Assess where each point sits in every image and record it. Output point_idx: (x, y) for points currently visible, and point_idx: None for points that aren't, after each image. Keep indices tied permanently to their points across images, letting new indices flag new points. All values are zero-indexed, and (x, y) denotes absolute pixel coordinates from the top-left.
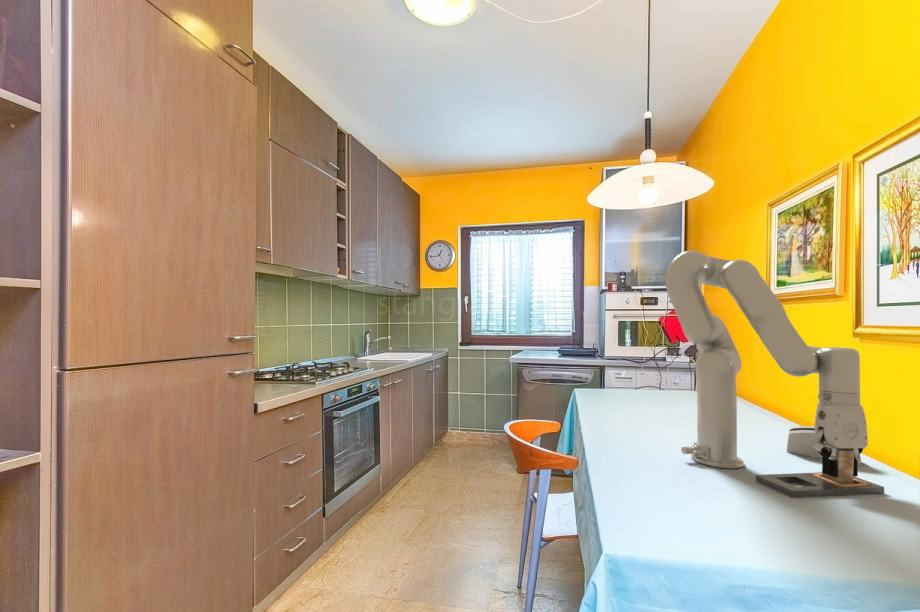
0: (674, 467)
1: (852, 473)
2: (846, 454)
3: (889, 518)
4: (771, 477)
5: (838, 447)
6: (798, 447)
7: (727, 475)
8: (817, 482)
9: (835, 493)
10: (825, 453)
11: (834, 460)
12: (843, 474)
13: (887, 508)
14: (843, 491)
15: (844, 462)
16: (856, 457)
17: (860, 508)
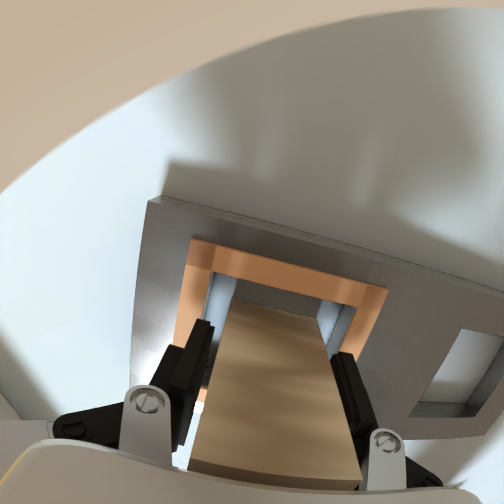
0: (491, 481)
1: (226, 337)
2: (285, 447)
3: (486, 63)
4: (479, 417)
5: (446, 490)
6: None
7: (476, 453)
8: (415, 358)
9: (439, 274)
10: (419, 472)
11: (372, 426)
12: (292, 351)
13: (390, 91)
14: (407, 266)
15: (297, 401)
16: (157, 401)
17: (489, 154)
